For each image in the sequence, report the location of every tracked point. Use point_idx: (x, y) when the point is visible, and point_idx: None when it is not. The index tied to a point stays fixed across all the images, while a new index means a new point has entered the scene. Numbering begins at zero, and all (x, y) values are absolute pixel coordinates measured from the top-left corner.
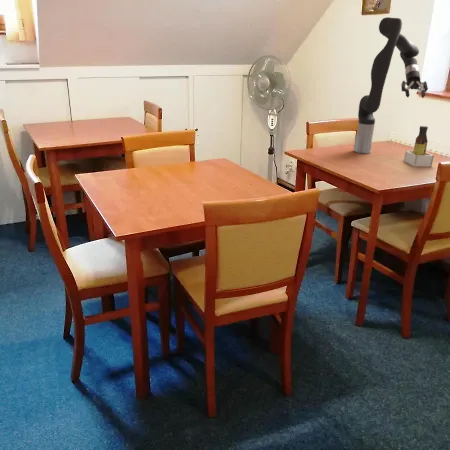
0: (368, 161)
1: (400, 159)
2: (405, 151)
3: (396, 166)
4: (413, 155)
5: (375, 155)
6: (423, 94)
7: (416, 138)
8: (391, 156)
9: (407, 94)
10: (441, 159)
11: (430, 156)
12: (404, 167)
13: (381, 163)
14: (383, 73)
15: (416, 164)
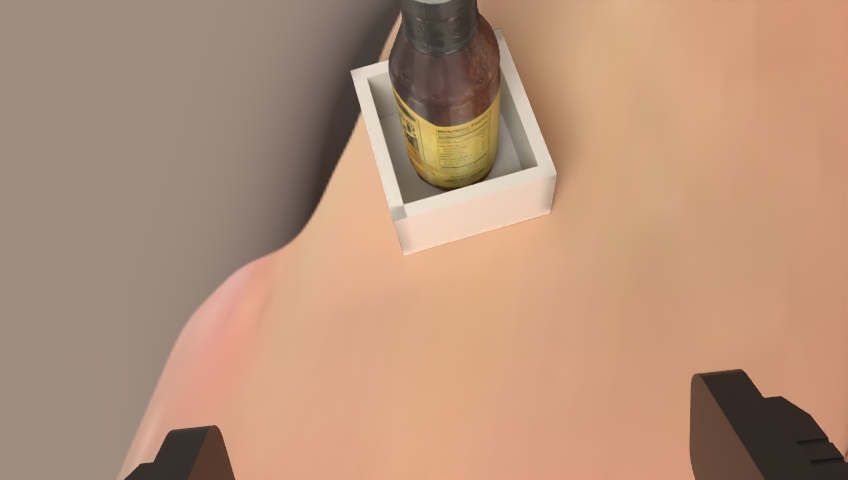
0: (844, 134)
1: (567, 266)
2: (556, 177)
3: (630, 50)
4: (512, 63)
5: (786, 363)
6: (185, 453)
7: (497, 43)
8: (635, 360)
9: (774, 409)
10: (201, 356)
11: (378, 67)
12: (575, 40)
13: (738, 102)
14: None
15: None
